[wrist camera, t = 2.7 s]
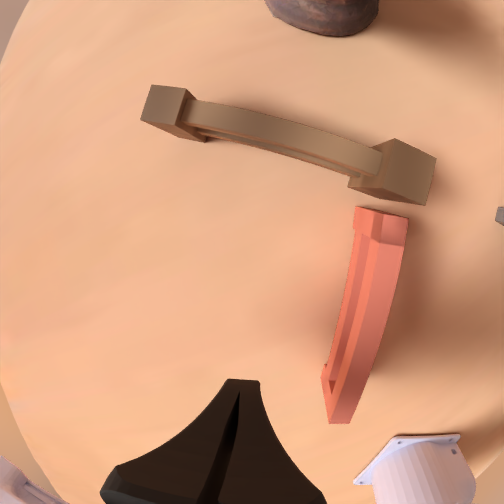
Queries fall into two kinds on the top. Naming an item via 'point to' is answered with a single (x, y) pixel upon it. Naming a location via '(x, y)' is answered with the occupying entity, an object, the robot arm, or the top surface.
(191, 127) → the fence
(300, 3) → the mortar and pestle
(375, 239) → the gate
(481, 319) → the top surface
